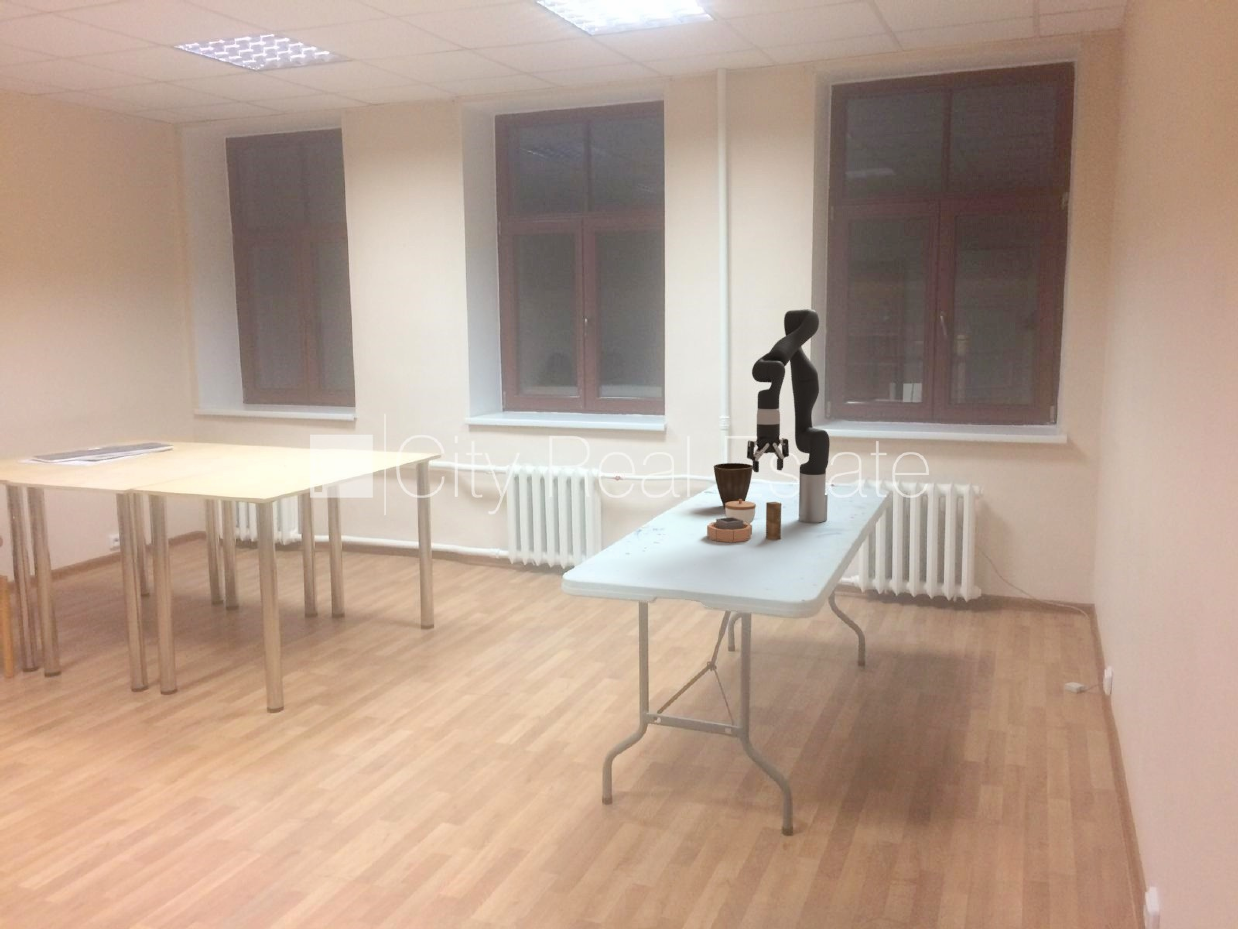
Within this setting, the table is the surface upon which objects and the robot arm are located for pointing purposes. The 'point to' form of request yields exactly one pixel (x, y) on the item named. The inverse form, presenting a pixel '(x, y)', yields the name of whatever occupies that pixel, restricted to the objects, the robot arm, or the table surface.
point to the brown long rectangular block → (773, 520)
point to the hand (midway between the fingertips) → (767, 471)
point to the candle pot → (729, 530)
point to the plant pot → (733, 481)
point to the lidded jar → (740, 510)
